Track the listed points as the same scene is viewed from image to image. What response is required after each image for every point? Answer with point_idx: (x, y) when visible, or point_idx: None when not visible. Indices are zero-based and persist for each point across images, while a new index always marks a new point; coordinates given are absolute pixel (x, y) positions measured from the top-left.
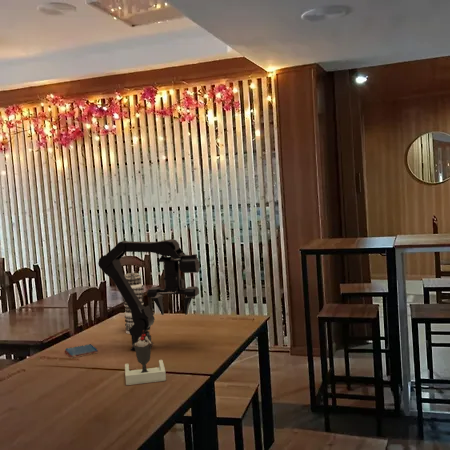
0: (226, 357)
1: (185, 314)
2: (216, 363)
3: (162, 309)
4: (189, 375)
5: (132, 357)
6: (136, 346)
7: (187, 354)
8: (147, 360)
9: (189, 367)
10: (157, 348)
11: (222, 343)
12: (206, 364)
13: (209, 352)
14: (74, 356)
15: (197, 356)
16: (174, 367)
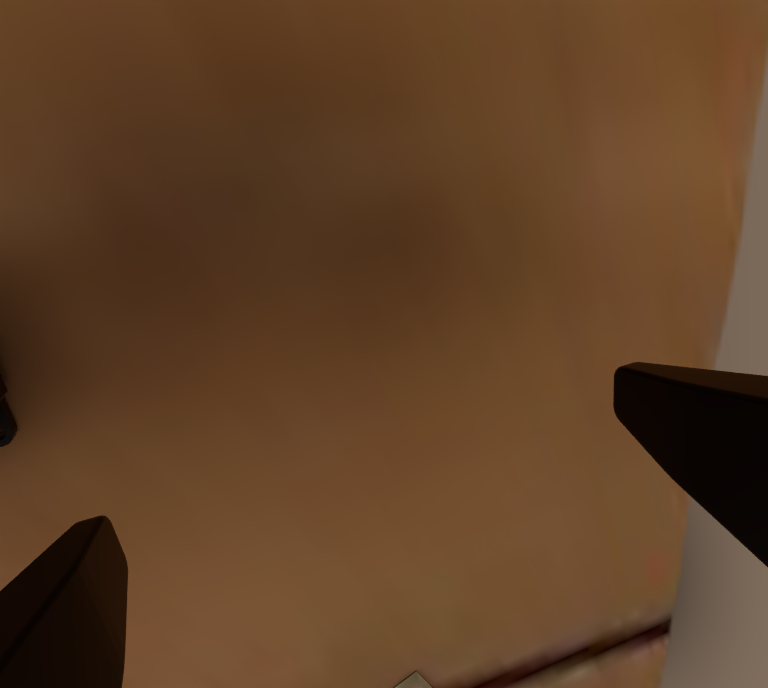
0: None
1: (620, 420)
2: (672, 489)
3: (91, 671)
4: (585, 673)
5: None
6: None
7: (453, 401)
8: None
9: (552, 595)
10: (79, 326)
11: (640, 34)
12: (626, 522)
13: (592, 312)
14: None
15: (537, 418)
16: (471, 629)
